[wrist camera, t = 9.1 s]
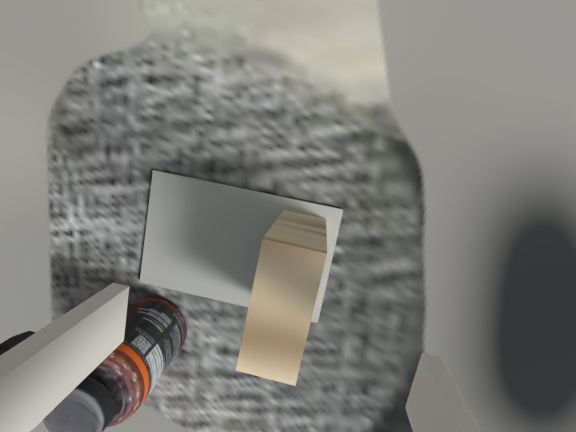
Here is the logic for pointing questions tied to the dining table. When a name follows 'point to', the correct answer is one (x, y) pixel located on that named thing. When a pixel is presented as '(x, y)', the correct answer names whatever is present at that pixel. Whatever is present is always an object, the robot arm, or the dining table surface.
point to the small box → (283, 297)
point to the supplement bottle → (124, 371)
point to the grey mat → (217, 236)
